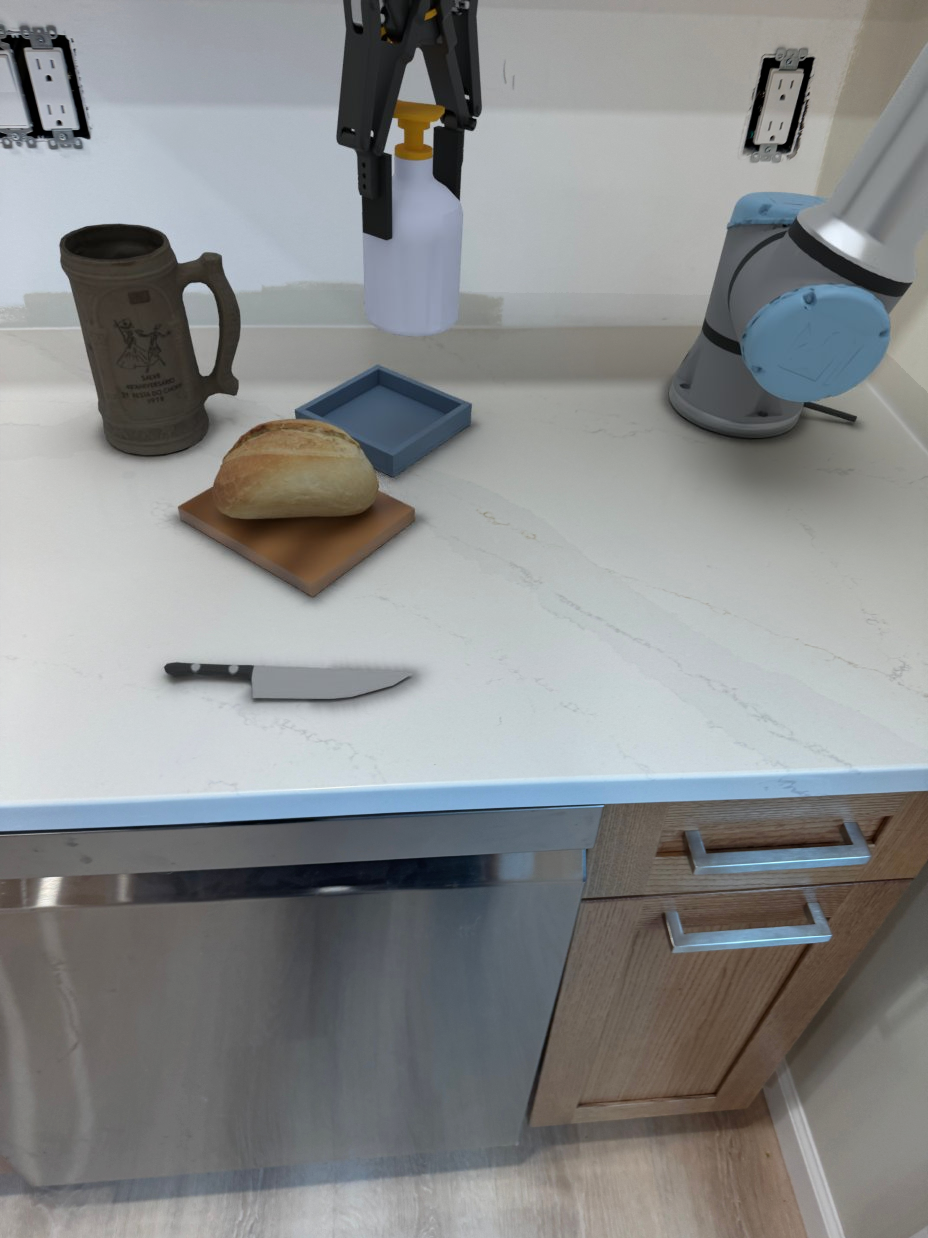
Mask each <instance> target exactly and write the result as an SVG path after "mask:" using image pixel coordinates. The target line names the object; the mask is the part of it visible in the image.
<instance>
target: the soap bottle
mask: <svg viewBox="0 0 928 1238" xmlns="http://www.w3.org/2000/svg"><path fill="white" fill-rule="evenodd" d="M436 14H437V11H436V9H432V10H429V12H428V13H426V16H425V19H424V20H427V19H429V18H432V17H433V16H435V15H436ZM385 33H386V31H385V29H384V27H382V28H381V38H382V36H383V35H384V34H385ZM387 42H391V41H390V39H389V38H388V39H387ZM391 43H392V42H391ZM444 113H445V107H443V106H440V105H436V104H432V103H423V102H414V101H407V100H400V99H397V103H396V107H395V111H394V115H393V119H397V127H398V128H399V129H401V130H403V142H401V143H397V144H396V145H394V154H393V160H394V161H393V172H394V173H392V239H390V240H387V241H386V240H383V239H380V238H377V237H374V236H371V235H368V234H365V233H363V225H362V224H361V229H362V230H361V231H362V232H361V233H362V263H363V268H362V269H363V297H364V301H363V302H364V315H365V317H366V319H367V321H368V322H369V324H371V325H372V326H373V327H375V328H376V329H377V330H380V331H383V332H385V333H388V334H392V335H395V336H402V337H409V338H410V337H412V338H413V337H428V336H433V335H438V334H441V333H443V332H446V331H448V330H450V329H452V327H454V326H455V324H456V323H457V322H458V320H459V307H460V306H459V304H460V289H461V287H460V285H461V271H462V270H461V267H462V249H463V248H462V247H463V245H462V244H463V228H464V211H463V207H462V204H461V200H460V201H459V200H458V199H457V198H456V197H455V196H454V195H453V193H452V192H451V191H450V190H449V189H448V188H447V187H446V186H444V185H443V184H441V183H440V182H438V181H437V180H436V179H435V178H434V176H433V174H432V173H433V146H431V145H429V144H426V143H424V131H427V130H430V129H431V123H435V122H438V121H440V117H441V116H442V115H443V114H444Z"/></svg>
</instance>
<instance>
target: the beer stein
mask: <svg viewBox="0 0 928 1238" xmlns="http://www.w3.org/2000/svg"><path fill="white" fill-rule="evenodd" d="M58 247H59V254H60V257H59V258H60V259H59V263H60V268H61V269H62V271H63V273H64V274H65V275H66V276H67V278H68V282H69V285H70V289H71V293H72V298H73V301H74V303H75V309H76V313H77V316H78V320H79V325H80V328H81V333H82V338H83V342H84V343H83V344H84V347H85V351H86V355H87V359H88V363H89V368H90V371H91V375H92V380H93V383H94V388H95V393H96V397H97V410H98V412H99V414H100V416H101V419H102V424H103V432H104V435H105V439H106V440H107V441H108V442H109V444H110V445H112V446H113V447H114V448H116V449H118V450H119V451H122V452H125V453H129V454H134V455H141V456H155V455H157V456H158V455H166V454H172V453H175V452H179V451H183V450H185V449H187V448H190V447H191V446H193V445H195V444H196V443H199V442H200V441H201V440H202V439H203V438H204V437H205V435H206V434H207V432H208V430H209V428H210V419H209V414H208V412H207V410H206V408H205V403H206V401H207V400H208V399H209V398H210V397H212V396H214V395H217V394H218V395H219V394H220V395H221V394H222V395H228V396H232V397H236V396H238V392H239V389H240V383H239V379H238V378H237V377H236V376H234V374H233V371H232V370H233V365H234V364H233V363H234V360H235V356H236V353H237V349H238V346H239V342H240V338H241V328H242V323H241V321H242V320H241V319H242V318H241V310H240V306H239V303H238V299H237V296H236V293H235V291H234V290H233V288H232V285H231V284H230V281H229V280H228V278H227V276H226V273H225V269H224V265H223V256H222V254H220V253H218V252H214V251H213V252H212V251H205V252H203V253H202V254H201V255H200V256H198V258H196V259H194V260H189V261H186V262H178V259H177V255H176V253H175V252H174V250H173V248H172V246H171V243H170V240H169V237H168V236H167V234H165V233H164V232H162V231H161V230H158V229H156V228H153V227H151V226H146V225H141V224H131V223H130V224H128V223H100V224H92V225H85V226H83V227H80V228H77V229H74V230H71V231H69V232H68V233H66V234H63V236H62V237H61V238H60V241H59V244H58ZM197 283H200V284H203V285H205V286H206V287H207V288H208V289H209V290H210V291H211V293H212V294H213V297H214V300H215V305H216V308H217V315H218V341H217V342H218V343H217V348H216V356H215V360H214V365H213V368H212V371H211V372H210V374H209V375H202V374H201V372H200V368H199V364H198V361H197V357H196V353H195V349H194V348H195V347H194V344H193V339H192V336H191V329H190V324H189V319H188V316H187V311H186V307H185V303H184V296H183V295H184V291H185V289H186V288H187V287H188V286H189V285H190V284H197Z"/></svg>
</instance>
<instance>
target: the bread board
mask: <svg viewBox="0 0 928 1238" xmlns="http://www.w3.org/2000/svg"><path fill="white" fill-rule="evenodd" d="M212 490H213V486H211V487H210V488H208V489H206V490H204V491H202V492H201V493H198V494H197V495H196V496H194V497H192V498H190V499H188V500H187V501H184V502H183V503H181V504H179V505H178V506H177V510H178V515H179V519H180V520H181V521H183V522H184V523H186V524H188V525H189V526H191V527H192V528H194V529H196V530H198V531H199V532H201V533H203V534H204V535H206V536H207V537H210V538H211V539H212V540H214V541H217V542H218V543H220V544H221V545H223V546H225V547H227V548H228V549H230V550H232V551H233V552H235V553H237V554H239V555H240V556H242V557H244V558H245V559H247V560H249V561H250V562H252V563H253V564H256V565H257V566H259V567H261V568H262V569H264V570H266V571H268V572H269V573H271V574H272V575H274V576H276V577H278V578H280V579H281V580H283V581H284V582H286V583H288V584H290V585H292V586H293V587H295V588H296V589H298V590H300V591H301V592H303V593H305V594H307V595H308V596H310V597H311V598H314V597H315V596H316V595H318V594H319V593H321V592H322V591H323V590H324V589H326V588H327V587H329V586H330V585H331V584H333V583H334V582H335V581H337V580H338V579H340V577H342V576H343V575H345V574H346V573H348V572H349V571H350V570H351V569H353V568H355V566H357V565H358V564H359V563H360V562H362V561H363V560H364V559H365V558H367V557H368V556H370V555H371V554H372V553H374V552H375V551H376V550H377V549H379V548H380V547H382V546H383V545H385V543H387V542H389V541H390V540H391V539H392V538H394V537H395V536H397V535H398V534H399V533H401V531H403V530H404V529H406V528H407V527H408V526H410V525H411V524H412V523H414V522H415V521H416V520H415V517H416V516H415V515H416V512H415V511H416V509H415V508H414V506H411V505H409V504H407V503H405V502H403V501H401V500H399V499H397V498H394V497H393V496H390V495H389V494H387V493H385V492H383V491H381V490H379V489H378V495H377V497H376V499H375V501H374V502H373V504H371V506H370V507H369V508H368V509H366V510H365V511H363V512H362V513H359V514H356V515H350V516H337V517H318V516H317V517H316V516H311V517H291V518H274V519H273V518H266V519H239V518H231V517H229V516H228V515H225V514H222V513H221V512H220V511H219V510H218V508H217V506H216V505H215V503H214V500H213V495H212Z"/></svg>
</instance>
